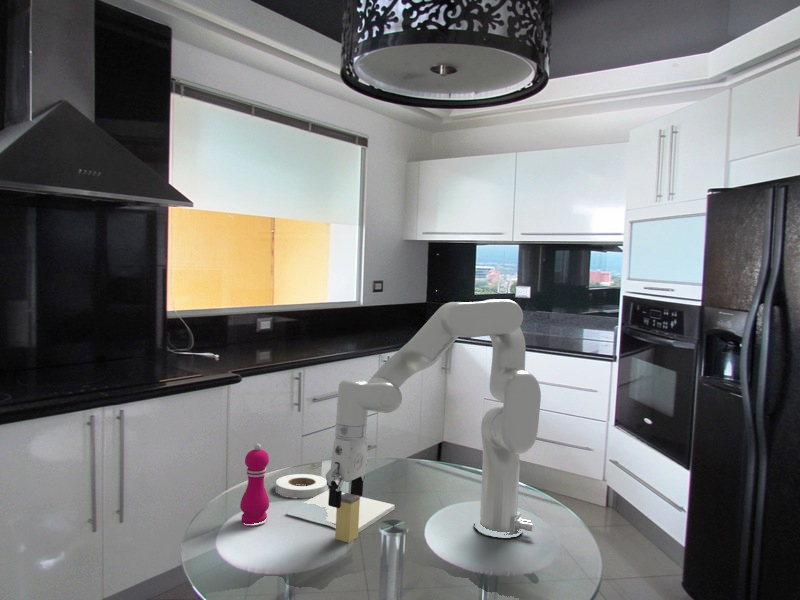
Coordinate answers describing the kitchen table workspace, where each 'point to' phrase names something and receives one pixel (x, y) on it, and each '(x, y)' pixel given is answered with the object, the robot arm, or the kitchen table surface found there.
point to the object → (289, 489)
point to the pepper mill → (255, 487)
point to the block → (347, 518)
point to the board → (367, 509)
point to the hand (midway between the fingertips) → (345, 500)
